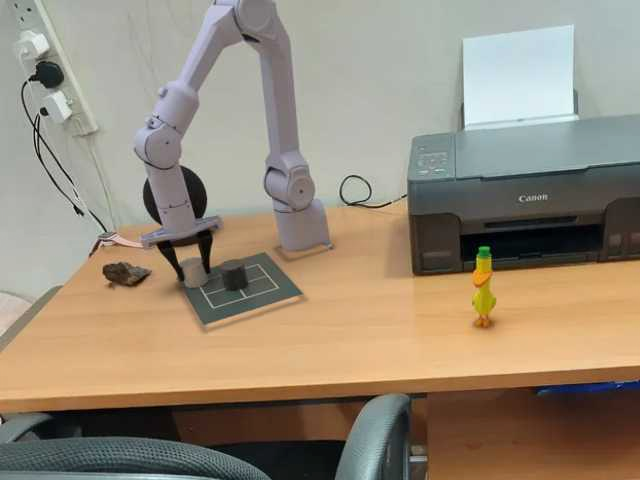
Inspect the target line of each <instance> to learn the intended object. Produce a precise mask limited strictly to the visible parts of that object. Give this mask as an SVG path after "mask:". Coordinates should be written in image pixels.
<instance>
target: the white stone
mask: <svg viewBox="0 0 640 480" xmlns="http://www.w3.org/2000/svg"><path fill="white" fill-rule="evenodd" d="M178 264H179V267H180V269H181V272H182V274H183V277H184V284H185V286H186V287H188V288H196V287H200V286H203V285H205V284H206V283H207V282H208V277H207V273H206V270H205V266H204V262H203V259H202V258H201V257H197V256H194V257H188V258H185V259H183V260H181V261H180V262H178Z"/></svg>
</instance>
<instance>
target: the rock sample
mask: <svg viewBox="0 0 640 480" xmlns="http://www.w3.org/2000/svg"><path fill="white" fill-rule="evenodd" d="M151 273H153V270H150V269H149V270H148V269H147V268H145V267H142V266H138V265H137V266H133V265H132V264H130V263H129V262H127V261H119V262H113V263H112V262H111V263H110V262H109V263H108V264H104V265H103V266H102V272H101V274H102V275H103V276H104V278H105V279H106V280H107V281H109V282H111V283H112V284H114V283H115V282H114V281H117V282H119V283H121V284H124V285H129V286H132V285H133V284H135V283H136V282H138V281H139V280H141V279H142V278H143V277H145V276H147V275H150V274H151Z"/></svg>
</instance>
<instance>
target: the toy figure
mask: <svg viewBox="0 0 640 480" xmlns="http://www.w3.org/2000/svg"><path fill="white" fill-rule="evenodd" d="M490 251H491V248H490V246H480V247H478V253H477V254H476V269H474V270H473V272H472V276H471V279H472V284H473V286H474V287H475V288H476V289H478V291H477V292H476V293H475V295H473V296H472V297H471V306H473V307H474V310H475V311H476V313H478V315H479V318H478V319H476V327H477V328H480V327H481V326H483V327H482V328H488V327H489V325H490V319H489V315H490V314H491V312H492V311H493V309H494V308H495V307H496V304H497V297H496V296H494V294H493V293H492V292H491V290H490V287H491V280H492V276H493V272H494V270H493V269H492V253H490ZM483 316H485V319H484V318H483Z"/></svg>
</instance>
